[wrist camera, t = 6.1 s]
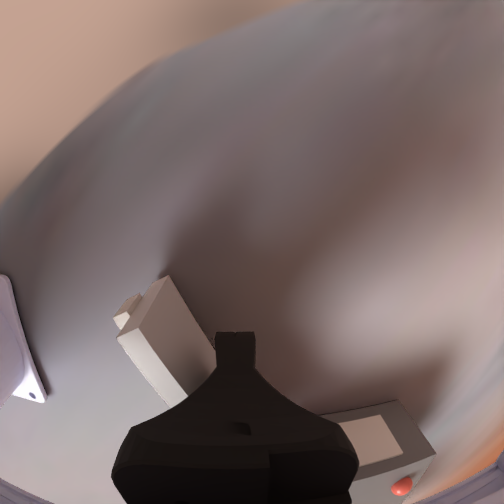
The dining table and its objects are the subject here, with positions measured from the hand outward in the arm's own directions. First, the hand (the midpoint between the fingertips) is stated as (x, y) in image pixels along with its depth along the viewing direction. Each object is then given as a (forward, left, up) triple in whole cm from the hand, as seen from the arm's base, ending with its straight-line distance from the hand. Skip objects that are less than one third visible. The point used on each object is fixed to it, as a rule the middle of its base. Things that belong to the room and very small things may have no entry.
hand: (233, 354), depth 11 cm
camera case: (+5, -10, -2) cm, 11 cm away
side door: (-1, -2, -2) cm, 3 cm away
